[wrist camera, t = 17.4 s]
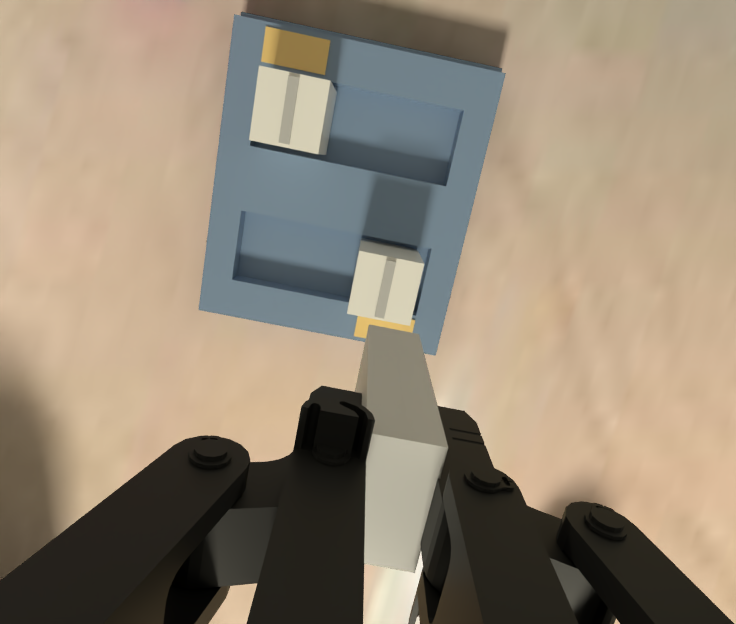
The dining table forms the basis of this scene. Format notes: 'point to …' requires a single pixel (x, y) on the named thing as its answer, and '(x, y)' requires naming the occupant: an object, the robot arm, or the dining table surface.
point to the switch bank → (344, 179)
